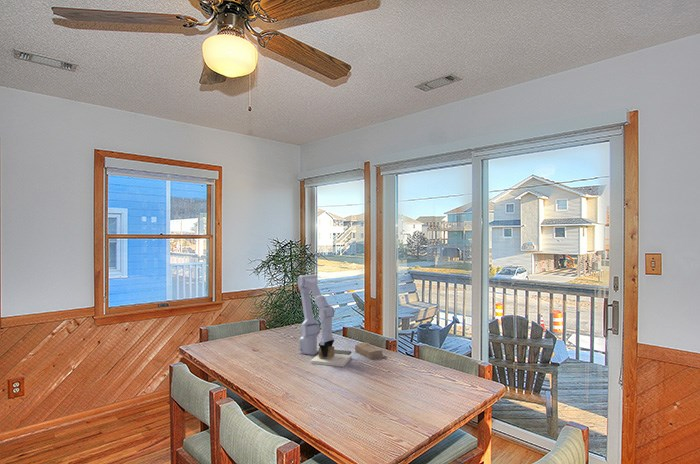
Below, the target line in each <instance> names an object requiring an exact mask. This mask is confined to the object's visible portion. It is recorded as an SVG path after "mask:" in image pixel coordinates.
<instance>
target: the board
mask: <svg viewBox="0 0 700 464" xmlns="http://www.w3.org/2000/svg"><path fill="white" fill-rule="evenodd" d="M351 359H352V355H351V354H349V355H343V354H334V357H333V358H332V359H328V358H319V353H318V354H316V356H315V355H314V357H313V358H312V359H311V360H310V364H313V365H324V366H333V367H345V366H346V365H347V364H348V363H349V361H350V360H351Z"/></svg>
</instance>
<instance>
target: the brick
mask: <svg viewBox="0 0 700 464" xmlns="http://www.w3.org/2000/svg"><path fill="white" fill-rule="evenodd" d="M354 351H355V352H356V353H357V354H358V355H360V356H363V357H365V358H367V359H369V360H375V359H381V358H382V359H383V350H382V349H380V348H378V347H376V346H374V345H371V343H369V342H361V343H358V344H355V345H354Z"/></svg>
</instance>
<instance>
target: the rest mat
mask: <svg viewBox="0 0 700 464" xmlns="http://www.w3.org/2000/svg"><path fill="white" fill-rule="evenodd" d="M351 353H352V351H351V350H343V349H342V350H341V349H334V354H343V355H351Z"/></svg>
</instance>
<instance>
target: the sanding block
mask: <svg viewBox="0 0 700 464" xmlns="http://www.w3.org/2000/svg"><path fill="white" fill-rule="evenodd" d="M318 350H319V351H318V354H319V358H328V359H332V358H333V357H334V350H335V346H333V345H332V346H329V348H328V354H327V357H323V355H322V351H321V348H320V347H319V348H318Z"/></svg>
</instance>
